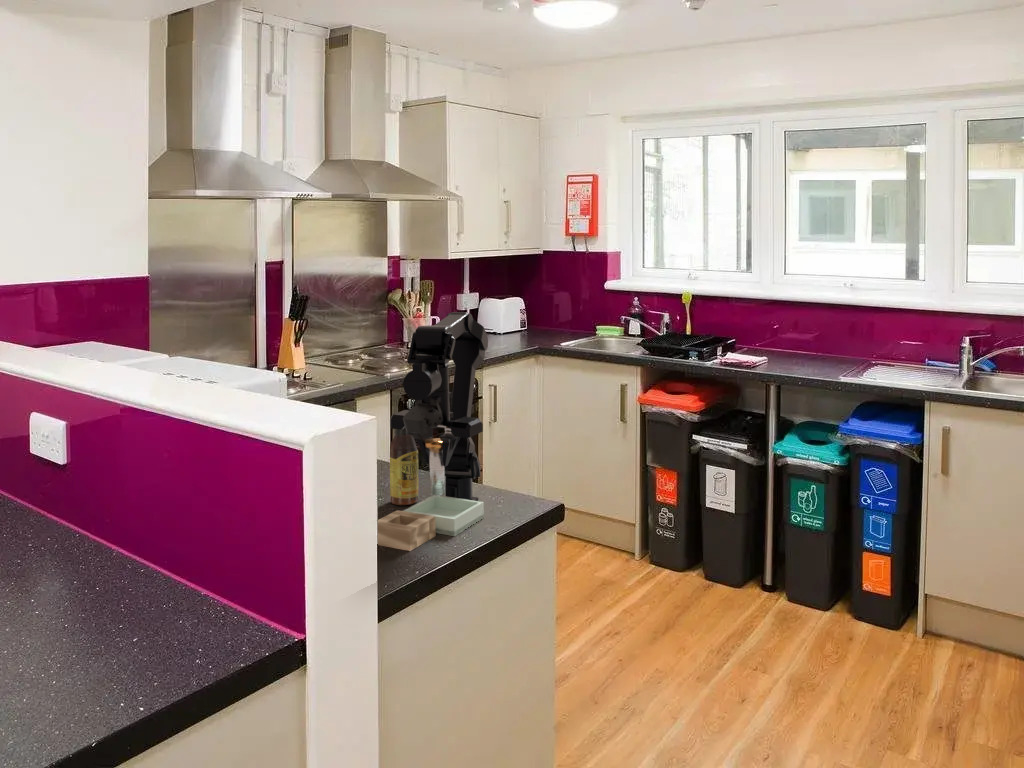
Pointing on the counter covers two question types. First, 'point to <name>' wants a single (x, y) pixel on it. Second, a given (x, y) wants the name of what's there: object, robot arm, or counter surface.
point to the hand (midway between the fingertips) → (437, 464)
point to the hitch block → (405, 530)
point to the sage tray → (450, 513)
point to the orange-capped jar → (436, 466)
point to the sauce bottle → (403, 469)
